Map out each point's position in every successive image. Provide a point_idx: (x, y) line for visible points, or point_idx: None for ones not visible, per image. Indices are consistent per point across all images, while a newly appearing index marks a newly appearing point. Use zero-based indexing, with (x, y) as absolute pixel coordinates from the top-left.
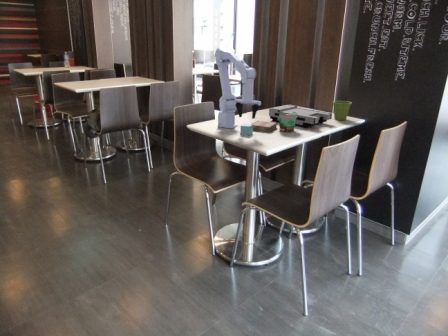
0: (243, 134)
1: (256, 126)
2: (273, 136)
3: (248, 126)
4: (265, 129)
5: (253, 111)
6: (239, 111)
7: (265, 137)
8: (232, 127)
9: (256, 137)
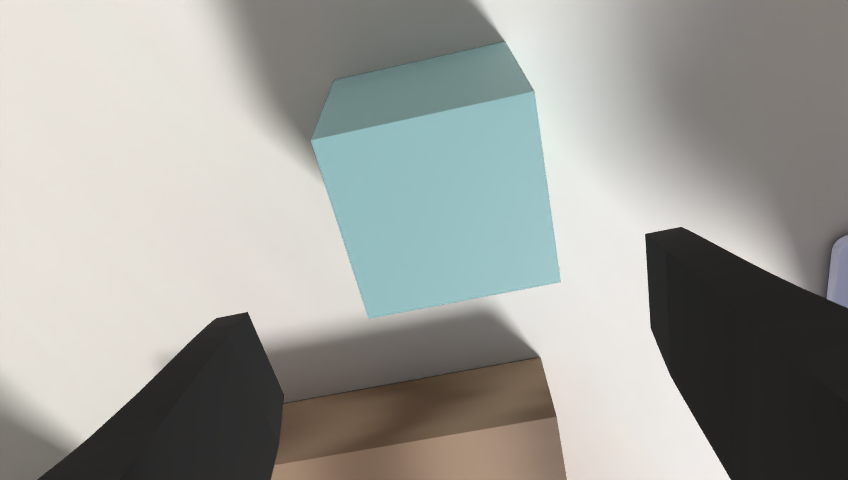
0: (440, 56)
1: (431, 425)
2: (22, 290)
3: (328, 137)
4: (283, 428)
5: (79, 472)
6: (753, 314)
7: (47, 166)
8: (835, 272)
9: (143, 62)
